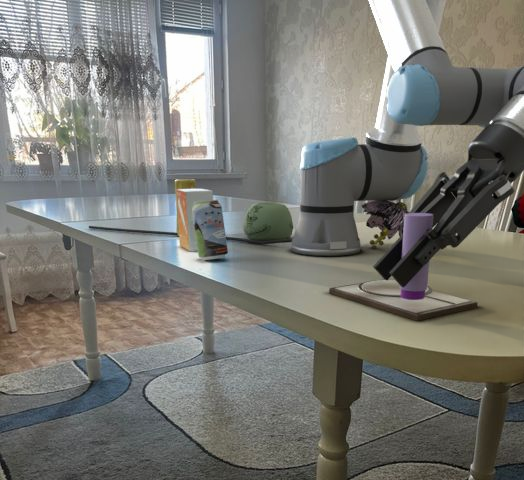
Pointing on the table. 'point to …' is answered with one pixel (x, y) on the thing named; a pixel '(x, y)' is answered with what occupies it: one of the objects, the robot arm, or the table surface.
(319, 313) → the table surface
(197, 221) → the green printed package
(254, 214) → the green rounded lump
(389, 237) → the decorative flower
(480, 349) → the table surface
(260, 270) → the table surface
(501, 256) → the table surface
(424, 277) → the cylinder
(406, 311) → the board
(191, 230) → the small box
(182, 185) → the vase
